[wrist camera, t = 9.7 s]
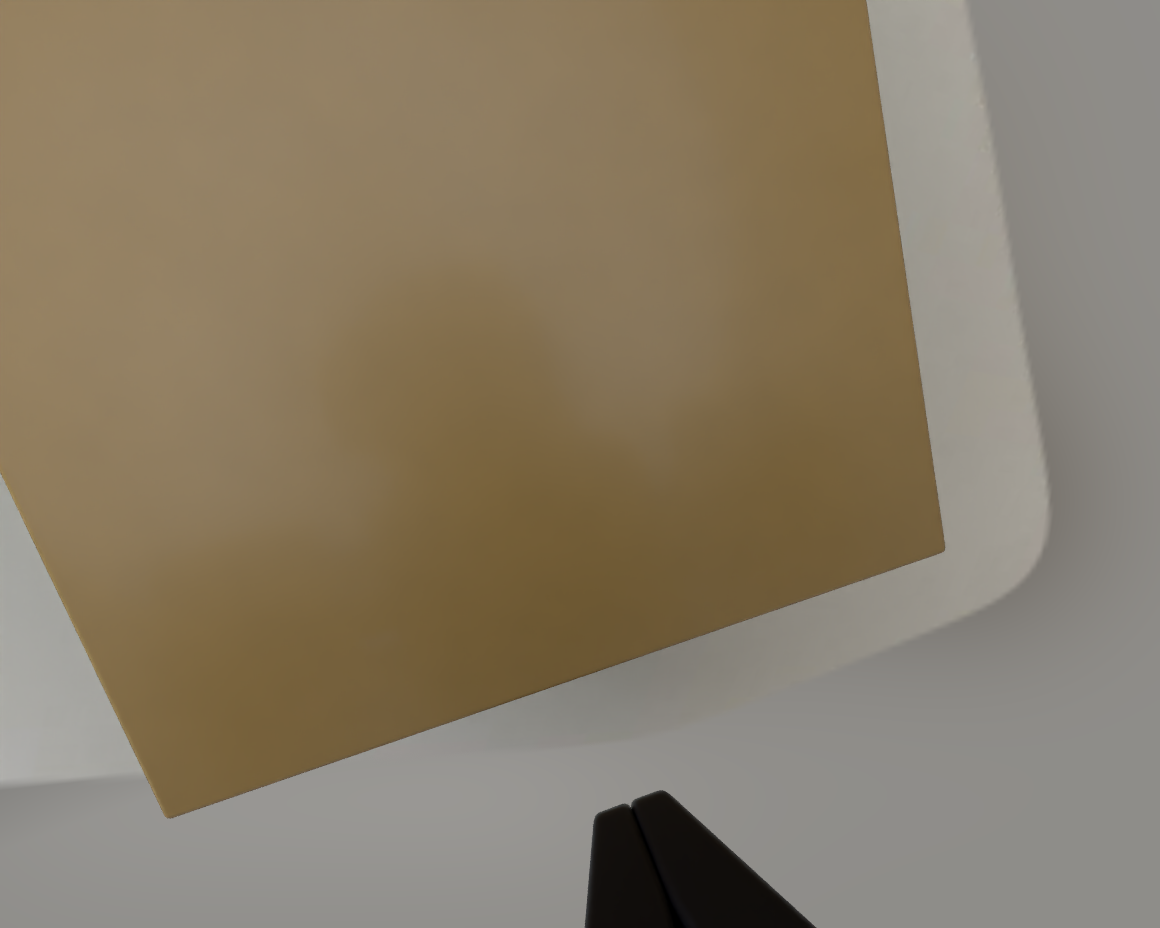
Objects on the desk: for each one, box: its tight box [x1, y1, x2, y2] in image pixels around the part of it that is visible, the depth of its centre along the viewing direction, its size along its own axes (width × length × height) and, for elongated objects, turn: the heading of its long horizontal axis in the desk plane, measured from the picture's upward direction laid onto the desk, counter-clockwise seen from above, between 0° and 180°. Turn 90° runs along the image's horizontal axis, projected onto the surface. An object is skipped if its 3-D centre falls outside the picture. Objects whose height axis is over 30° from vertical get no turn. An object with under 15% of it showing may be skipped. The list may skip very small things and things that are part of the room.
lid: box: [0, 0, 945, 818], centre depth 9 cm, size 14×12×1 cm
